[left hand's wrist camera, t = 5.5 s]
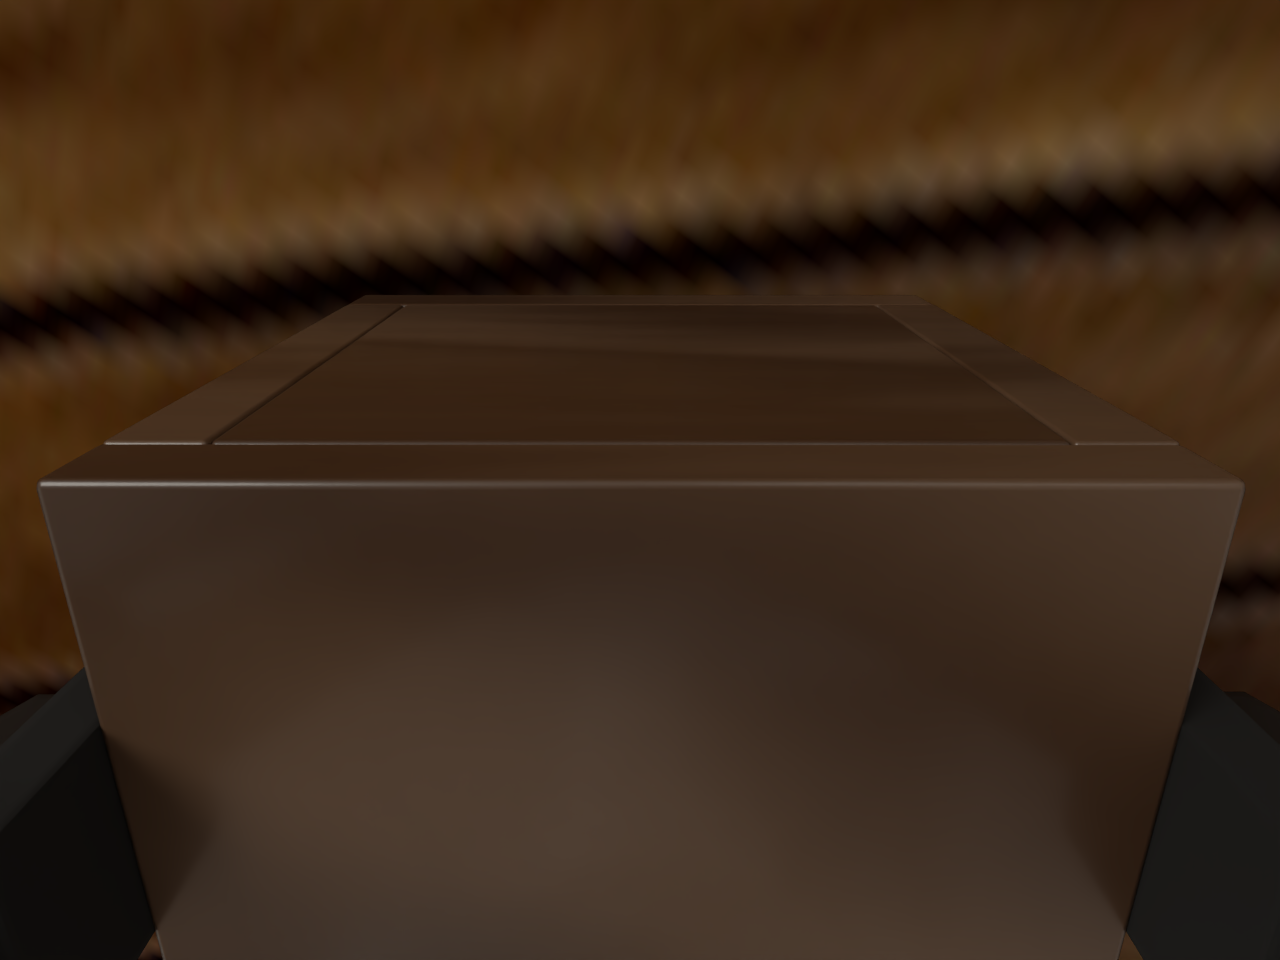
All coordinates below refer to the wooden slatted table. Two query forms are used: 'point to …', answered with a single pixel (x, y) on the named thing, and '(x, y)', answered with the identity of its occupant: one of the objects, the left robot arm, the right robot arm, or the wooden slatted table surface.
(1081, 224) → the wooden slatted table surface
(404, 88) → the wooden slatted table surface
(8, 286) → the wooden slatted table surface
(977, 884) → the cabinet
